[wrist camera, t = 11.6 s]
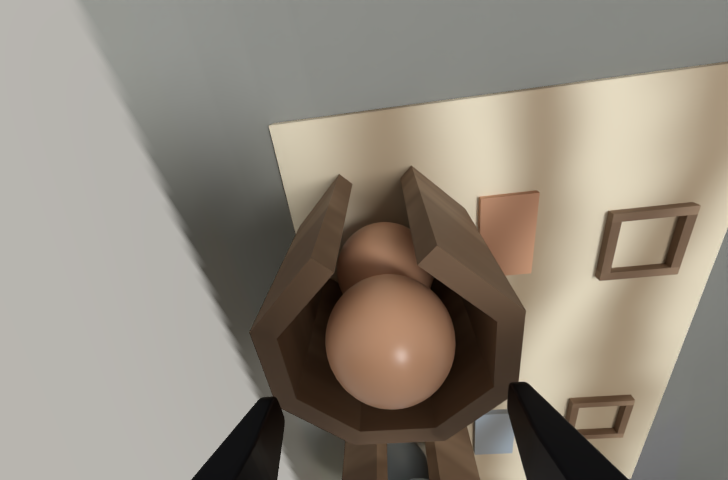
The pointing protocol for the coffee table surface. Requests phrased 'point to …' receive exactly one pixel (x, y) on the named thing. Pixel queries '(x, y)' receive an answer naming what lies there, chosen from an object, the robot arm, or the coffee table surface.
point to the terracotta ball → (390, 341)
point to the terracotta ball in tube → (379, 255)
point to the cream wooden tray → (510, 257)
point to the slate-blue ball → (418, 479)
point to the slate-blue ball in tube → (406, 461)
